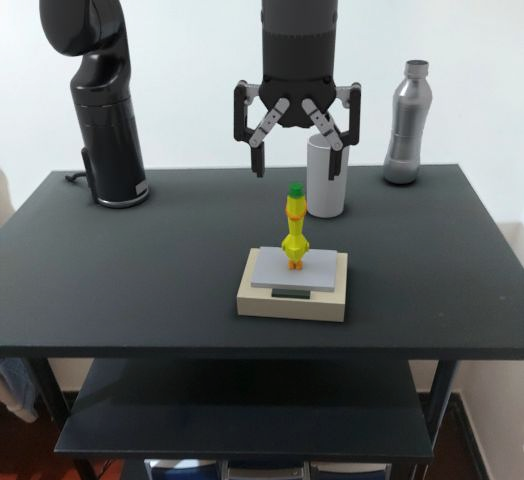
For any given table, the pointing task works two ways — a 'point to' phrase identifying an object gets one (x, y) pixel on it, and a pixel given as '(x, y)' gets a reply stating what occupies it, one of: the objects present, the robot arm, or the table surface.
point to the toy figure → (295, 226)
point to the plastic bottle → (408, 123)
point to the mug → (324, 179)
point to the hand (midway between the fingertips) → (295, 176)
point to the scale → (294, 285)
